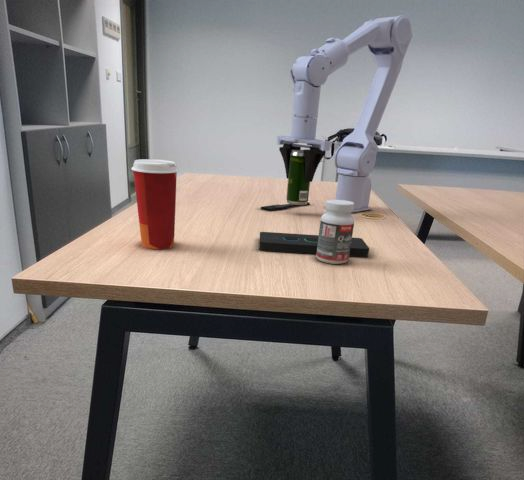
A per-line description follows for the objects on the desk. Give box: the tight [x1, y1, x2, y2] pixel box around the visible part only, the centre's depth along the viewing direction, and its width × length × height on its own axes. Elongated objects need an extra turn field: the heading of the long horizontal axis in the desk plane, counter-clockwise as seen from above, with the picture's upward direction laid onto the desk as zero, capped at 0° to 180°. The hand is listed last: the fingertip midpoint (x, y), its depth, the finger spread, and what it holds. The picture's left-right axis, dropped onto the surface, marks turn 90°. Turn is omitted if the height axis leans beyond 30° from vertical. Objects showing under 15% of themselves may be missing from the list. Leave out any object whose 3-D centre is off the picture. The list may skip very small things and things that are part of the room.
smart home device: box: [258, 231, 370, 258], centre depth 89 cm, size 8×2×20 cm
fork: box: [260, 201, 310, 212], centre depth 124 cm, size 17×3×1 cm, turn 136°
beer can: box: [285, 149, 311, 206], centre depth 113 cm, size 5×5×12 cm
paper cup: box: [131, 158, 179, 250], centre depth 81 cm, size 8×8×14 cm
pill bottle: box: [315, 199, 355, 265], centre depth 81 cm, size 6×6×10 cm
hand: (299, 180), depth 114 cm, fingers closed on beer can, 5 cm apart
